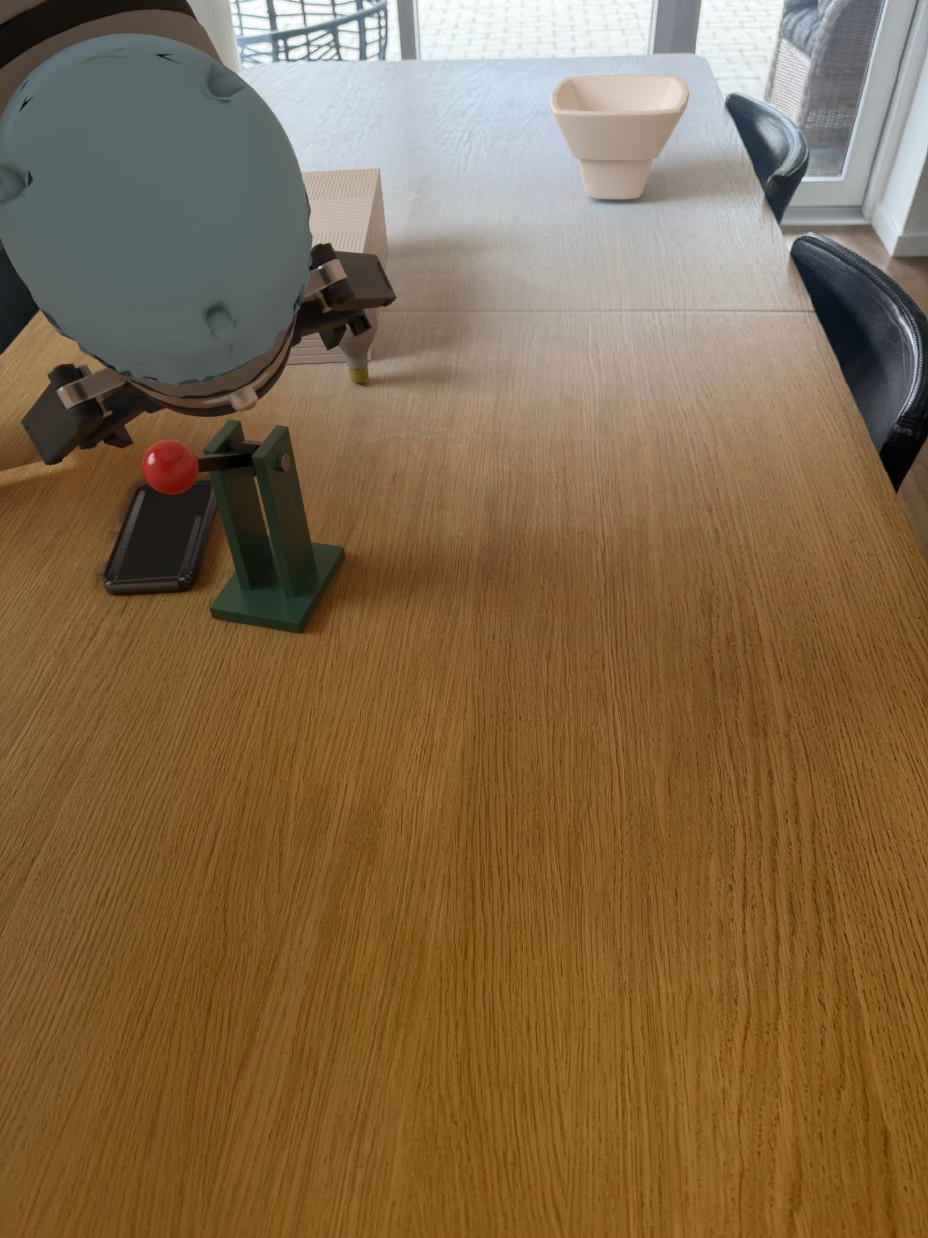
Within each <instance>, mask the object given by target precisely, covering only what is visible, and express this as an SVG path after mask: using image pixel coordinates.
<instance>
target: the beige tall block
mask: <svg viewBox="0 0 928 1238" xmlns="http://www.w3.org/2000/svg"><path fill="white" fill-rule="evenodd" d="M301 174H302V179H303V182H304V185H305V188H306V192H307V195H308V200H309V204H310V208H311V214H310V219H309V227H310V232H311V234H312V235H313V239H312V248H313V247H314V246H315V245H317V244H320V243H322V244H326V243H331V245H332V247H333V249H334V251H343V252H354V253H365V254H376V255H377V257H378V259H379V261H380V263H381V265H382V267H383V269H384V271H385V272H386V265H387V260H388V254H389V243H388V236H387V235H388V234H387V224H386V223H387V222H386V215H385V207H384V199H383V198H384V195H383V186H382V176H381V168H380V167H376V168H357V169H355V168H354V169H336V170H318V171H301ZM312 248H311V249H312ZM374 309H375V311H376V313H377V319H378V318H379V311H380V307H379V308H374ZM301 338H302V340H301V342H300V343H299V344H297V345H295V346H294V347H292V348H291V351H290V355H289V358H288V361H287V364H286V365H298V364H299V365H300V364H318V363H319V364H321V363H323V364H324V363H344V362H346V363H347V358H346V356H345V354H344V353H343V351H342V350H341V349H340V348H339V346H337V347H335V348H332V349H330V350H328V351H327V349H326V347H325V345H324V343H323V341H322V339H321V337H320V335H319V333H314V334H311V335H307V336H304V337H301ZM375 339H376V336H375V337H374V339H373V341H372V343H371V345H370V348H369V350H368V354H367V358H368V362H369V361H372V359H373V351H374V346H375Z"/></svg>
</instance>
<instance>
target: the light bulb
mask: <svg viewBox="0 0 928 1238" xmlns="http://www.w3.org/2000/svg"><path fill="white" fill-rule="evenodd" d="M364 311H365V313H366V316H367V318H368V320H369V322H370V324H371V326H372V328H371V329H370V330H368V331H366V332H364V333H362V334H360V335H358V336H355V337H354V336H353V333H352V331H351V329H350V327H349V325H348V324H346V327H347V330H346V332H345V334H344V335H343V337H342V339H341V341H340V343H339V345H338V346H339V348H340V349H341V350H342V351H343V353H344V354H345V356H346V358H347V361H346V364H347V367H348V371H349V372H348V373H349V379H350V381H352V382H353V383H355V384H358V385H362V384H363V383H366V382H368V380H369V378H370V374H369V368H368V367H369V366H368V365H369V361H368V358H367V354H368V350H369V348H370V345H371V343H372V341H373V339H374V337H375V338H376V334H377V332H378V327H379V320H378V319H377V313H376V311H375V309H374V308H369V309H364ZM374 340H375V339H374Z"/></svg>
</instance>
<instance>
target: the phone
mask: <svg viewBox="0 0 928 1238" xmlns="http://www.w3.org/2000/svg"><path fill="white" fill-rule="evenodd" d="M217 506H218V504H217V501H216V497H215V493H214V490H213V486H212V482H211V479H197V480H196V482H195V483H194V485H193V486H192V487H191V488H190V489H188V490H187V491H185V492H183V493H181V494H177V495H167V494H163V493H160V492H158V491H156V490H155V489H153V488H152V487H151V486H150V485H149V484H148V483H147V482H146V483H143V484H141V485H139V486H138V487H136V489H135V491H134V493H133V496H132V498H131V501H130V504H129V507H128V508H127V511H126V513H125V517H124V519H123V522H122V524H121V526H120V529H119V532H118V535H117V537H116V540H115V543H114V544H113V547H112V550H111V552H110V555H109V558H108V560H107V563H106V566H105V568H104V571H103V574H102V576H101V582H102V584H103V586H104V589H105V591H106V592H107V593H108V594H110V595H114V596H115V595H116V596H117V595H133V594H134V595H135V594H151V593H152V594H153V593H172V592H182V591H186V590H189V589H190V588H192V587H193V586H194V585H195V583H196V580H197V577H198V574H199V571H200V567H201V563H202V560H203V555H204V552H205V548H206V545H207V541H208V537H209V533H210V530H211V528H212V527H211V526H212V523H213V520H214V517H215V512H216V509H217Z"/></svg>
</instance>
